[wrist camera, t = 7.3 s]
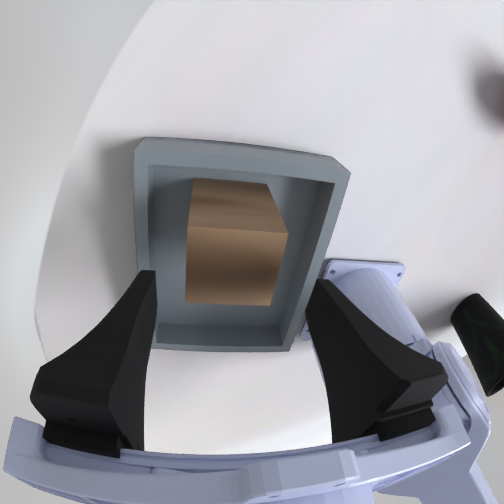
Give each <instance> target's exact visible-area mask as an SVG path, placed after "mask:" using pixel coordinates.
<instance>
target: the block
mask: <svg viewBox="0 0 504 504" xmlns="http://www.w3.org/2000/svg"><path fill="white" fill-rule="evenodd" d="M288 234H289V233H288V231H287V229H286V226H285V224H284V222H283V219H282V217H281V215H280V212H279V210H278V208H277V206H276V203H275V201H274V199H273V197H272V194H271V192H270V190H269V188H268V185H267V184H263V183H254V182H243V181H233V180H221V179H208V178H194V182H193V189H192V196H191V203H190V211H189V219H188V227H187V249H186V280H185V302H186V303H206V304H231V305H269V306H270V303H271V300H272V296H273V292H274V288H275V285H276V281H277V277H278V273H279V269H280V265H281V262H282V258H283V254H284V250H285V246H286V242H287V238H288Z"/></svg>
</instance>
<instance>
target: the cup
mask: <svg viewBox="0 0 504 504" xmlns="http://www.w3.org/2000/svg"><path fill="white" fill-rule="evenodd" d="M451 323H452V325H453V327H454V328H455V330H456V332H457V334H458V336H459V338H460V340H461V342H462V344H463V346H464V348H465V350H466V352H467V354H468V356H469V358H470V360H471V362H472V365H473V367H474V369H475V371H476V373H477V376H478V378H479V380H480V383H481V385H482V387H483V390H484V392H485V394H486V396H487V397H489V396H491V395H493V394H495V393H497V392H498V391H499V390H501V389H502V388H503V387H504V319H503V318H502V317H501V316H500V315H499V314H498V313H497V312H496V311H495V310H494V309H493V308H492V307H491V306H490V305H489V303H488V302H487V301H486V300H485V299H484V298H483V297H482V296H481V295H480V294H477V293H476V294H473V295H470V296H469V297H467V298H466V299H465V300H463V301H462V302H461V303H460V304H459V305H458V307H457V308H456V309H455V311H454V312H453V314H452V316H451Z"/></svg>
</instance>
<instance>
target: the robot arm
mask: <svg viewBox="0 0 504 504" xmlns="http://www.w3.org/2000/svg"><path fill="white" fill-rule="evenodd" d="M405 269H406V267H405V266H404V264H401V263H383V262H365V261H348V260H332V261H330V262H329V263H328V264H327V267H326V270H325V273H324V275H323V278H322V279H316V282H315V285H314V288H313V290H312V293H311V296H310V298H309V301H308V304H307V307H306V309H305V313H306V319H307V320H306V322H305V325H304V327H303V330H302V332H301V335H300V336H301V339H302V340H311V343H312V347H313V350H314V353H315V356H316V359H317V362H318V365H319V368H320V372H321V375H322V378H323V381H324V384H325V387H326V391H327V397H328V404H329V411H330V419H331V430H332V444H328V445H322V446H316V447H309V448H303V449H295V450H287V451H277V452H266V453H252V454H230V455H195V454H172V453H158V452H148V451H144V399H145V381H146V371H147V365H148V360H149V355H150V350H151V345H152V340H153V335H154V330H155V325H156V316H157V306H158V304H157V289H156V271H154V270H141V271H140V272H139V273H138V275H137V276H136V278H135V279H134V281H133V282H132V284H131V285H130V286H129V288H128V289H127V291H126V292H125V293H124V295H123V296H122V297H121V298H120V300H119V301H118V302H117V304H116V305H115V306H114V307H113V308H112V309H111V311H110V312H109V313H108V314H107V315H106V316H105V317H104V318H103V320H102V321H101V322H100V323H99V324H98V325H97V326H96V327H95V328H94V329H93V330H91V331H90V332H89V333H88V334H87V335H86V336H85V337H84V338H82V339H81V340H80V341H79V342H78V343H76V344H75V345H74V346H72V347H71V348H70V349H68V350H67V351H65V352H64V353H63V354H61V355H60V356H58V357H56V358H55V359H53V360H51V361H50V362H48V363H46V364H45V365H43V366H41V367H40V369H39V372H38V373H37V375H36V378H35V381H34V384H33V387H32V391H31V394H30V400H31V402H32V404H33V405H34V407H35V408H36V409H37V410H38V412H39V413H40V414H41V415H42V416H43V417H44V418H45V419H46V424H45V427H43V426H42V425H40V424H37V423H35V422H32V421H28V420H25V419H22V418H19V417H14V420H13V424H12V427H11V432H10V436H9V440H8V445H7V450H6V455H5V460H4V466H3V470H4V471H5V472H6V473H8V474H10V475H11V476H13V477H15V478H17V479H18V480H20V481H22V482H24V483H26V484H28V485H30V486H32V487H34V488H37V489H39V490H42V491H45V492H48V493H51V494H54V495H57V496H60V497H64V498H67V499H70V500H74V501H77V502H81V503H85V504H375V500H374V497H373V493H372V492H374V491H377V492H379V493H382V494H390V495H398V496H410V497H416V498H419V499H420V501H421V502H422V504H498V503H497V501H496V499H495V497H494V495H493V493H492V491H491V489H490V487H489V485H488V483H487V481H486V479H485V478H484V476H483V474H482V472H481V470H480V468H479V466H478V465H477V463H476V459H477V458H478V456H479V454H480V452H481V450H482V449H483V447H484V445H485V443H486V441H487V439H488V437H489V434H490V432H491V414H490V411H489V409H488V406H487V404H486V402H485V400H484V398H483V396H482V393H481V391H480V389H479V387H478V385H477V383H476V381H475V379H474V377H473V376H472V374H471V372H470V370H469V369H468V367H467V366H466V364H465V362H464V361H463V360H462V358H461V357H460V355H459V354H458V352H457V351H456V350H455V349H454V347H453V346H452V345H451V344H450V343H442V342H440V341H439V342H437V343H436V344H435V345H432V344H431V343H430V341H429V340H428V338H427V336H426V335H425V333H424V331H423V330H422V328H421V327H420V325H419V323H418V322H417V320H416V318H415V317H414V315H413V314H412V312H411V311H410V309H409V307H408V306H407V304H406V303H405V301H404V300H403V298H402V297H401V295H400V294H399V292H398V291H397V289H396V287H397V285H398V283H399V281H400V279H401V277H402V275H403V273H404V271H405ZM331 270H333V271H332V272H330V271H331Z"/></svg>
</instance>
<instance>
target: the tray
mask: <svg viewBox="0 0 504 504" xmlns="http://www.w3.org/2000/svg"><path fill="white" fill-rule="evenodd" d="M350 174H351V172H350V171H348V170H347V169H346V168H345V167H344V166H343V165H341V164H340V163H339V162H338V161H337V160H336V159H334V158H333V157H330V156H324V155H319V154H313V153H307V152H301V151H295V150H288V149H282V148H275V147H267V146H260V145H251V144H243V143H233V142H223V141H212V140H200V139H185V138H166V137H145V138H144V139H143V140H142V141H141V142H140V143H139V144H138V145H137V147H136V148H135V149H134V165H133V184H134V221H135V240H136V255H137V267H138V273H139V272H140V271H141V270H154V271H156V289H157V304H158V306H157V316H156V325H155V330H154V335H153V340H152V345H151V348H152V349H166V350H183V351H206V352H287V351H289V350H290V348H291V345H292V343H293V341H294V338H295V335H296V333H297V330H298V328H299V325H300V323H301V320H302V318H303V315H304V312H305V309H306V307H307V304H308V301H309V298H310V296H311V293H312V290H313V288H314V285H315V282H316V279H317V277H318V274H319V271H320V269H321V266H322V263H323V260H324V257H325V254H326V251H327V248H328V245H329V242H330V239H331V236H332V233H333V230H334V227H335V224H336V221H337V218H338V214H339V211H340V208H341V205H342V201H343V198H344V195H345V192H346V188H347V185H348V181H349V178H350ZM194 178H208V179H221V180H233V181H243V182H254V183H263V184H267V185H268V188H269V190H270V192H271V194H272V197H273V199H274V201H275V203H276V206H277V208H278V210H279V212H280V215H281V217H282V219H283V222H284V224H285V226H286V229H287V231H288V233H289V234H288V238H287V242H286V246H285V250H284V254H283V258H282V262H281V265H280V269H279V273H278V277H277V281H276V285H275V288H274V292H273V296H272V300H271V303H270V306H269V305H231V304H206V303H186V302H185V280H186V249H187V227H188V219H189V211H190V203H191V196H192V189H193V182H194Z"/></svg>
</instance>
